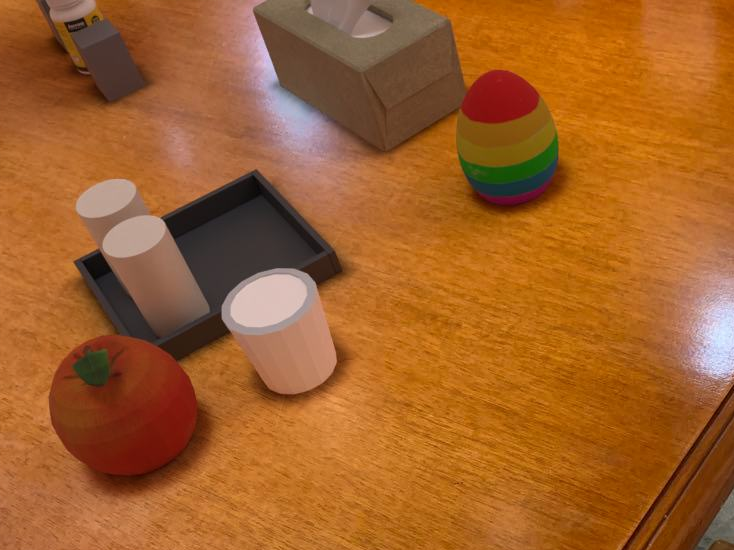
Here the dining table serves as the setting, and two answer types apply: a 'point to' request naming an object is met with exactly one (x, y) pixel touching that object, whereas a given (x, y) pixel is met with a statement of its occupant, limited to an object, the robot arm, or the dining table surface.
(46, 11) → the grey block left
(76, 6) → the supplement bottle
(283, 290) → the white cup
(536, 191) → the decorative egg
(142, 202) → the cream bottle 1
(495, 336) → the dining table surface
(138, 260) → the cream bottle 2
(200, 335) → the tray
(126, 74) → the grey block right
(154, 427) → the fruit
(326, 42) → the tissue box
